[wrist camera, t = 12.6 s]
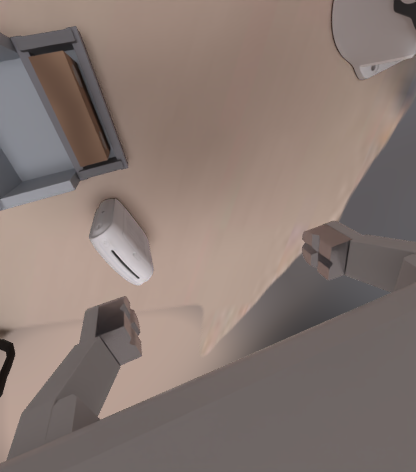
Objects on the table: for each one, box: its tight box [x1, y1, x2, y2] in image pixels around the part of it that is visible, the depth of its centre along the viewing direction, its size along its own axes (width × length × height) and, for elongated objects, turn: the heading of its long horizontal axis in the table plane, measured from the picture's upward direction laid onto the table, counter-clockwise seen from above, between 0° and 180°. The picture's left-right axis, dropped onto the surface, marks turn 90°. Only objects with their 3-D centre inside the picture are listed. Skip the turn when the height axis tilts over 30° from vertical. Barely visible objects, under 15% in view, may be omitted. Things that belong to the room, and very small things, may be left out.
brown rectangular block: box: [28, 51, 111, 167], centre depth 28 cm, size 3×10×8 cm, turn 11°
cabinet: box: [0, 26, 128, 211], centre depth 28 cm, size 15×15×8 cm
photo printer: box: [89, 198, 154, 285], centre depth 35 cm, size 10×4×12 cm, turn 27°
